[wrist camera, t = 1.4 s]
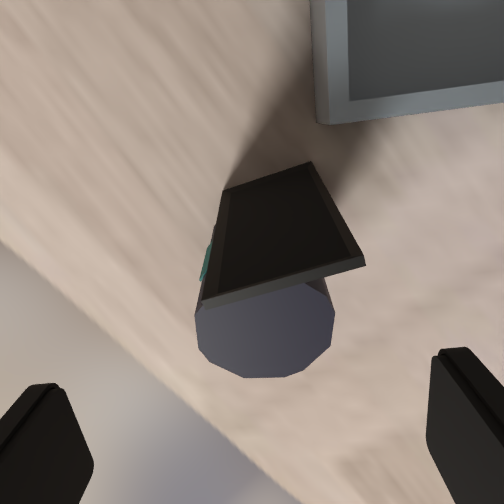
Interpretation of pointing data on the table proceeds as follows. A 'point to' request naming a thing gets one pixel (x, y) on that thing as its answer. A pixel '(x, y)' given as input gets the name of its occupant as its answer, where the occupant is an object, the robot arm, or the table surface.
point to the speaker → (272, 275)
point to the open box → (405, 57)
